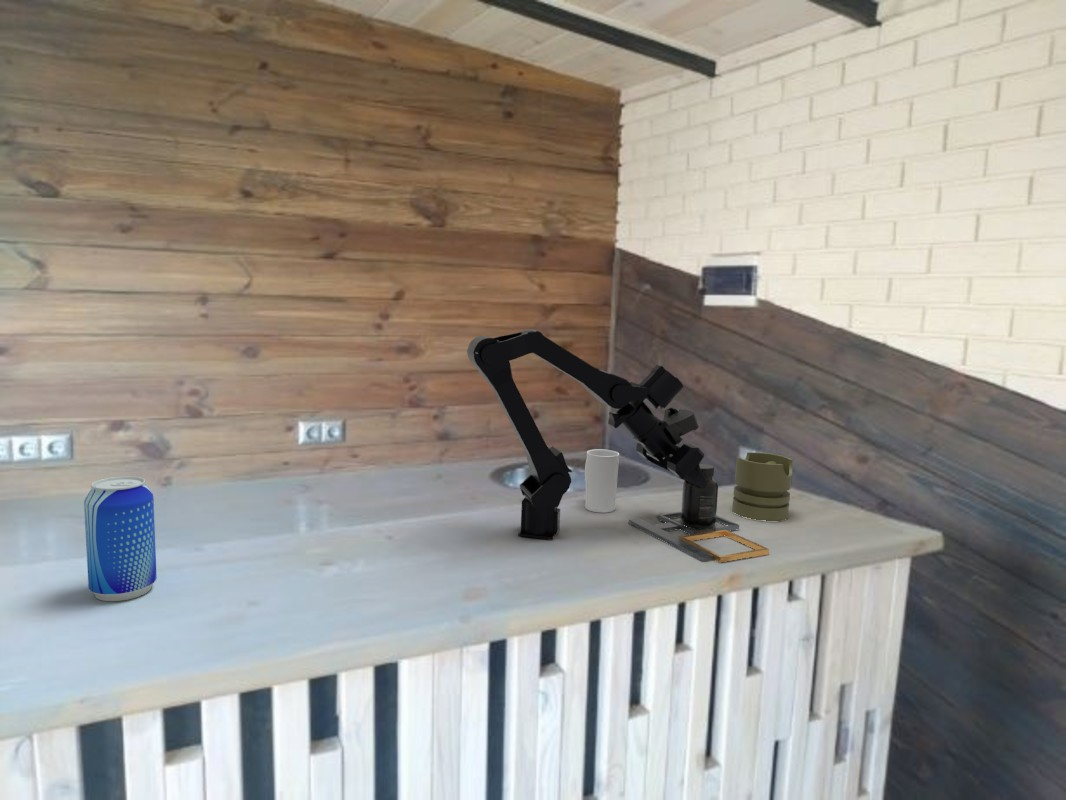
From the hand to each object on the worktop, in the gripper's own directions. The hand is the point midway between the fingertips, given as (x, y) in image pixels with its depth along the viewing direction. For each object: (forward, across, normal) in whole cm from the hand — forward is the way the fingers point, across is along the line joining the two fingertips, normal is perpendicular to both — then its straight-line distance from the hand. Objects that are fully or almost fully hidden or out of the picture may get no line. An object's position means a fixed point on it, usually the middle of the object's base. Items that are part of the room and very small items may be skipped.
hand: (693, 480), depth 141 cm
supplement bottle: (+8, 0, +6) cm, 9 cm away
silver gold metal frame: (+6, -7, +7) cm, 11 cm away
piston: (+20, +5, -6) cm, 22 cm away
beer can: (-63, -15, +75) cm, 99 cm away
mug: (-4, +15, +17) cm, 23 cm away
